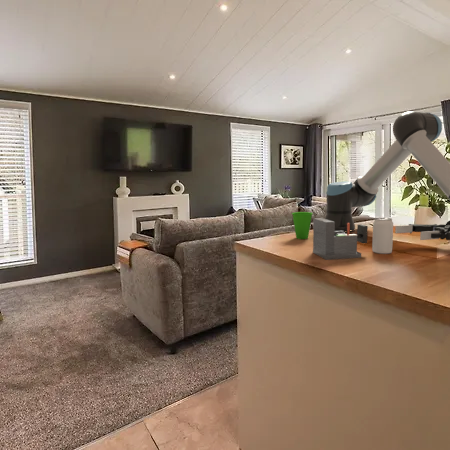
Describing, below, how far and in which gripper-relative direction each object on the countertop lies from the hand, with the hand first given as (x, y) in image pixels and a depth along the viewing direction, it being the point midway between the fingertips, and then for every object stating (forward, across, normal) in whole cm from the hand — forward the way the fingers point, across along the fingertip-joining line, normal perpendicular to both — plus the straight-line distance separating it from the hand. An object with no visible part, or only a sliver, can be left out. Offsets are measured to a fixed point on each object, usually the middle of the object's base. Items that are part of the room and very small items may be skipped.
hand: (407, 232), depth 125 cm
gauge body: (+27, 0, -7) cm, 28 cm away
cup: (+27, +33, -7) cm, 43 cm away
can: (+10, 0, -7) cm, 12 cm away
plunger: (+21, 0, -4) cm, 21 cm away
